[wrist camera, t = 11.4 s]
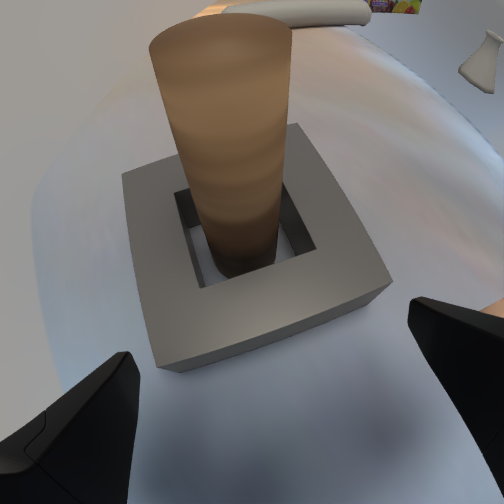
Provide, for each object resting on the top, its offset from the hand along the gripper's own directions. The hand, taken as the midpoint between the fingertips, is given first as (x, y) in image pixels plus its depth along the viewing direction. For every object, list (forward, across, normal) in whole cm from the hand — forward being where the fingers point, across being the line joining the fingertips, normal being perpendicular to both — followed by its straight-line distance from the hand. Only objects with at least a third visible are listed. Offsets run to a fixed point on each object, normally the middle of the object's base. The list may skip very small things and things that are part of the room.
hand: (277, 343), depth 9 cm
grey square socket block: (+11, 0, +1) cm, 11 cm away
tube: (+38, -14, -25) cm, 47 cm away
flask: (+28, -40, -15) cm, 51 cm away
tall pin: (+11, 0, +1) cm, 11 cm away
